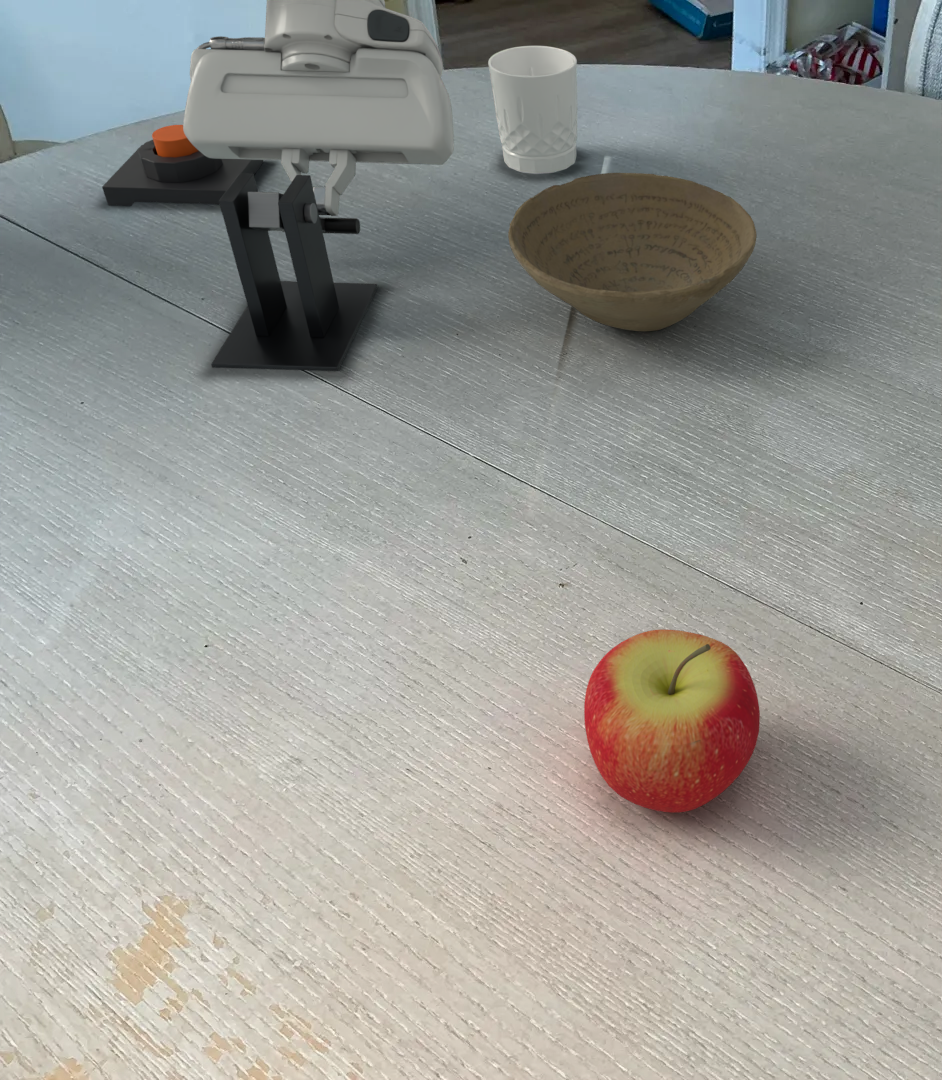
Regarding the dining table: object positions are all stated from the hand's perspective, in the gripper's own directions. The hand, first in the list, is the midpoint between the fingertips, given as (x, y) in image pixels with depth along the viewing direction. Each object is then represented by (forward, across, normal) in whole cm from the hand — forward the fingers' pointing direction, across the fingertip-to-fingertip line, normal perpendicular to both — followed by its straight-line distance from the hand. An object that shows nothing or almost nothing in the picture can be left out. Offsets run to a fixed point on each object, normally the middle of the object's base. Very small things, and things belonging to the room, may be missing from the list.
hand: (316, 213), depth 91 cm
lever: (+3, 0, -4) cm, 5 cm away
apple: (+38, +30, -30) cm, 57 cm away
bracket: (+10, 0, -2) cm, 10 cm away
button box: (-7, -17, +15) cm, 24 cm away
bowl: (+7, +25, +2) cm, 26 cm away
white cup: (-12, +14, +20) cm, 27 cm away
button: (-10, -17, +13) cm, 23 cm away
